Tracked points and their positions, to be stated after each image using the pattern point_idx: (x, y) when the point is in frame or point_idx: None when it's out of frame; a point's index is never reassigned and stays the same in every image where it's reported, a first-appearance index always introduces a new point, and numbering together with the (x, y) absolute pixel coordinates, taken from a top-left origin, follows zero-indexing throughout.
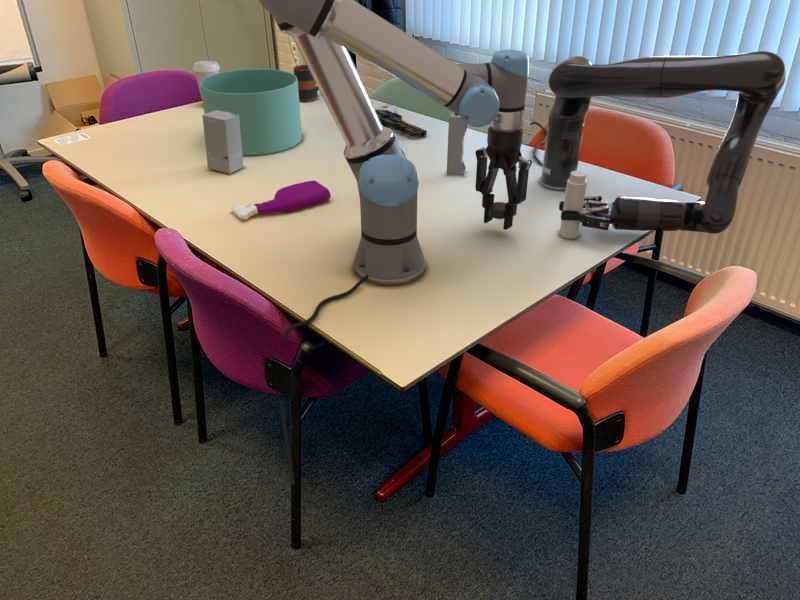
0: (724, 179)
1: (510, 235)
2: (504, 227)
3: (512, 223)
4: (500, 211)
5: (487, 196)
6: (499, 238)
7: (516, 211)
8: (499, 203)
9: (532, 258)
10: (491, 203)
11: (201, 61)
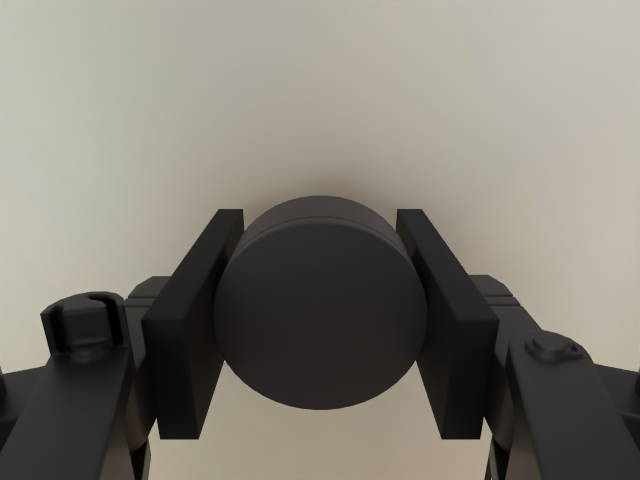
0: None
1: (402, 193)
2: None
3: (426, 216)
4: (384, 389)
5: (165, 411)
6: None
7: (511, 297)
8: (279, 270)
9: (628, 339)
10: (215, 316)
11: None
